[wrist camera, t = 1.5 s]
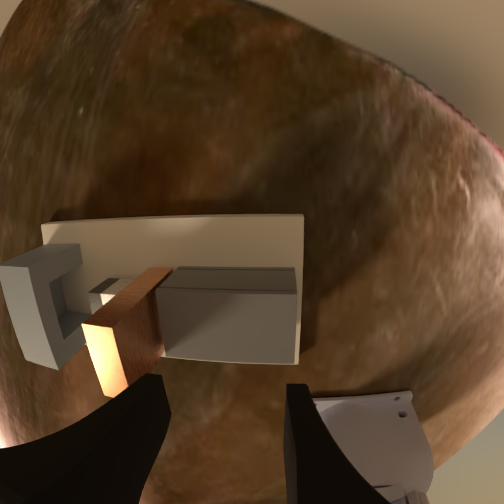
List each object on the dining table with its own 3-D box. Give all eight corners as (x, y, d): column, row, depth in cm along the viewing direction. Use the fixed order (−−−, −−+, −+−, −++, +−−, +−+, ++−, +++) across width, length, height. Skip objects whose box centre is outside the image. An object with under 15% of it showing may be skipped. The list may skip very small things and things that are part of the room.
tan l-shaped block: (286, 269, 17) (287, 340, 10) (284, 330, 19) (283, 417, 11) (108, 266, 19) (35, 315, 11) (118, 320, 20) (59, 382, 12)
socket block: (79, 243, 19) (28, 267, 14) (97, 331, 21) (58, 370, 15) (47, 243, 19) (-3, 265, 14) (65, 326, 21) (25, 359, 16)
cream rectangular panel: (302, 214, 18) (310, 230, 13) (297, 356, 21) (300, 403, 16) (48, 222, 20) (5, 236, 15) (72, 335, 22) (40, 365, 18)
